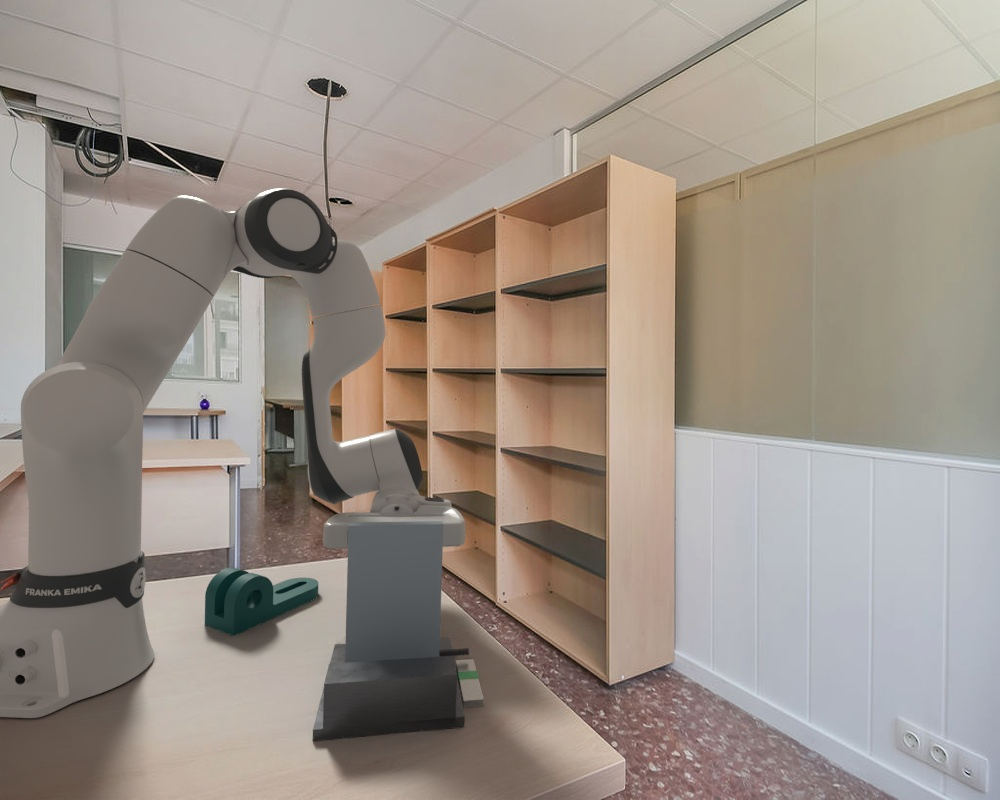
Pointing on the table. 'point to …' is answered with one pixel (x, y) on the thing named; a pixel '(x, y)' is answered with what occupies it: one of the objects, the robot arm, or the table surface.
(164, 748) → the table surface
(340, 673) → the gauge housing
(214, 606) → the bracket
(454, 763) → the table surface
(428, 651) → the grey upright panel
